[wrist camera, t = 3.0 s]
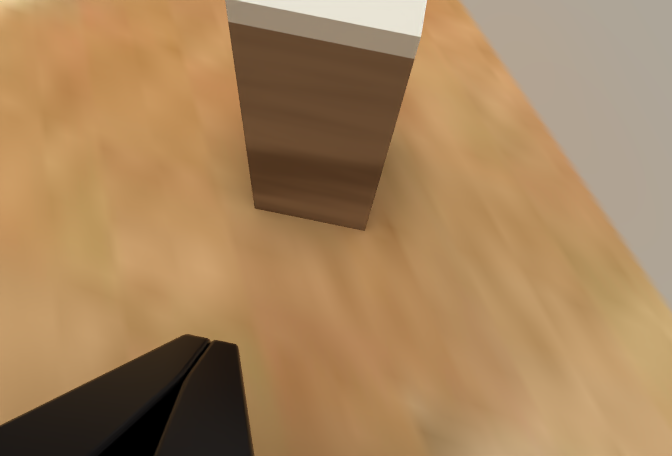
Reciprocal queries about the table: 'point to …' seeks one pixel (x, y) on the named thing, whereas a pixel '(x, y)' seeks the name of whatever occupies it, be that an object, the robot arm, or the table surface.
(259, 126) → the walnut block
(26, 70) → the table surface
